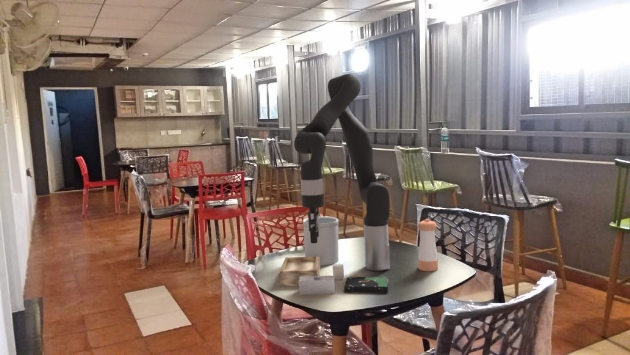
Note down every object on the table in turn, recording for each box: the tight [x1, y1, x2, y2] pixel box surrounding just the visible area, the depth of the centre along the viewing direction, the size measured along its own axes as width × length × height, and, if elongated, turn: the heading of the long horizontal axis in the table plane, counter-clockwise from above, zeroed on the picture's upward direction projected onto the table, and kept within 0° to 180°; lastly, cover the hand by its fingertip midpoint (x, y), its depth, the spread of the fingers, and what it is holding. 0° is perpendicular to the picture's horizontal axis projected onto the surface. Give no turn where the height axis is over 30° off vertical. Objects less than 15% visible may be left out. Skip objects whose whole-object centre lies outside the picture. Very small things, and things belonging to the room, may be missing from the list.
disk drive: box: [343, 276, 390, 294], centre depth 166 cm, size 10×3×15 cm
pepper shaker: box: [417, 218, 439, 272], centre depth 182 cm, size 7×7×19 cm
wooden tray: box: [279, 256, 321, 287], centre depth 179 cm, size 13×17×6 cm
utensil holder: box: [302, 215, 339, 267], centre depth 199 cm, size 15×15×18 cm
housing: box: [298, 275, 336, 296], centre depth 164 cm, size 12×4×6 cm, turn 87°
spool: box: [332, 263, 345, 281], centre depth 176 cm, size 4×4×5 cm
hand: (314, 239), depth 162 cm, fingers open, 8 cm apart
